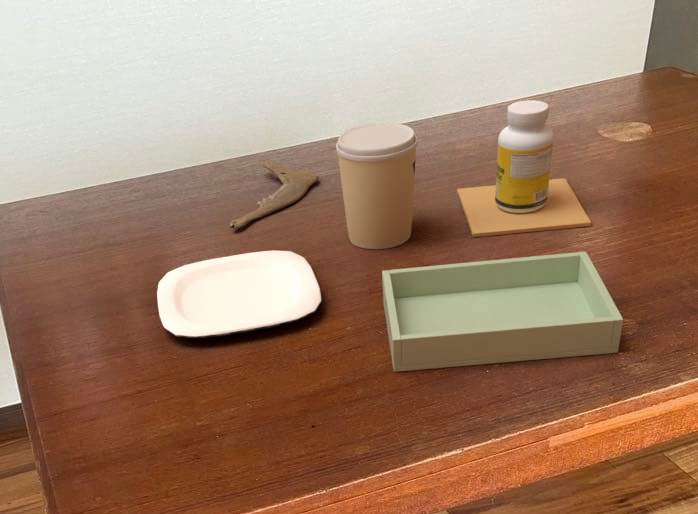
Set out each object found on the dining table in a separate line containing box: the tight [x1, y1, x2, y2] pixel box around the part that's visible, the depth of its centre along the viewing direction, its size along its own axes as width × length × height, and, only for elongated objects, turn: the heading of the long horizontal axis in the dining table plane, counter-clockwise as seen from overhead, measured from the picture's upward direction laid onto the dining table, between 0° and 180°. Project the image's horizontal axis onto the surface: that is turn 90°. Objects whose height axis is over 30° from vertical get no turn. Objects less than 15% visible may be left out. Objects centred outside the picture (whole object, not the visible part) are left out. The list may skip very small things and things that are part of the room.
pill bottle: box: [495, 99, 555, 213], centre depth 107 cm, size 6×6×12 cm
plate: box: [156, 249, 322, 339], centre depth 100 cm, size 18×18×2 cm
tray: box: [381, 251, 624, 373], centre depth 90 cm, size 22×15×4 cm
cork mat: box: [457, 177, 592, 238], centre depth 111 cm, size 14×14×1 cm
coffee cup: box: [335, 122, 418, 250], centre depth 106 cm, size 9×9×12 cm
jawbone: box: [229, 159, 319, 230], centre depth 120 cm, size 9×20×2 cm, turn 169°
